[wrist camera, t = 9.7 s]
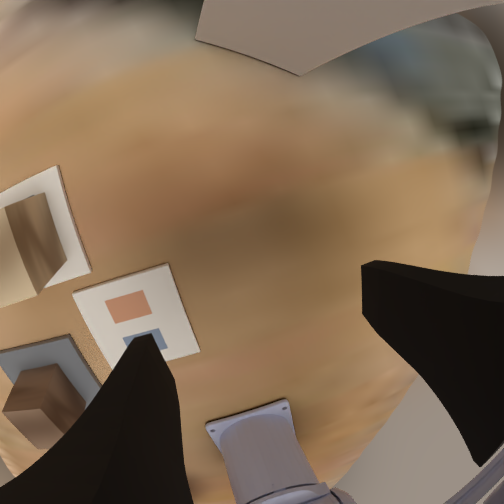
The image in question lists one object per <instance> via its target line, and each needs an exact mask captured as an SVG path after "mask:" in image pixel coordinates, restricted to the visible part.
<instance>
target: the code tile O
mask: <svg viewBox="0 0 504 504" xmlns="http://www.w3.org/2000/svg"><path fill="white" fill-rule="evenodd" d="M44 192H45V195H46V198H47V202H48V205H49V208H50V212H51V215H52V218H53V221H54V224H55V227H56V230H57V233H58V236H59V239H60V242H61V244H62V247H63V250H64V252H65V255H66V258H67V261H66V262H65V263H64V265H63V266H62V267H61V268H60V269H59V270H58V271H57V273H56V274H55V275H54V276H53V277H52V278H51V280H50V281H49V282H48V283H47V284H46V286H45V287H44V288H46V287H49V286H52V285H55V284H58V283H61V282H64V281H67V280H70V279H73V278H76V277H79V276H82V275H85V274H88V273H91V272H92V268H91V266H90V263H89V261H88V258H87V256H86V253H85V250H84V248H83V245H82V242H81V239H80V236H79V233H78V231H77V228H76V225H75V222H74V218H73V215H72V212H71V209H70V206H69V202H68V199H67V195H66V192H65V188H64V185H63V181H62V177H61V173H60V169H59V165H56V166H54V167H51V168H49V169H47V170H45V171H43V172H41V173H38V174H36V175H34V176H32V177H30V178H28V179H26V180H24V181H22V182H20V183H18V184H16V185H15V186H13V187H11V188H9V189H7V190H5V191H4V192H2V193H0V209H1V208H3V207H5V206H8V205H10V204H13V203H16V202H18V201H21V200H24V199H26V198H29V197H32V196H35V195H38V194H41V193H44Z"/></svg>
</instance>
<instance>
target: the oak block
mask: <svg viewBox="0 0 504 504" xmlns="http://www.w3.org/2000/svg"><path fill="white" fill-rule="evenodd" d="M66 261H67V258H66V255H65V252H64V250H63V247H62V244H61V242H60V239H59V236H58V233H57V230H56V227H55V224H54V221H53V218H52V215H51V212H50V208H49V205H48V202H47V198H46V195H45V192H44V193H41V194H38V195H35V196H32V197H29V198H26V199H24V200H21V201H18V202H16V203H13V204H10V205H8V206H5V207H3V208H1V209H0V308H2V307H5V306H8V305H11V304H14V303H16V302H19V301H22V300H25V299H28V298H31V297H34V296H37V295H38V294H39V293H40V292H41V290H42V289H43V288H44V287H45V286H46V284H47V283H48V282H49V281H50V280H51V278H52V277H53V276H54V275H55V274H56V273H57V271H58V270H59V269H60V268H61V267H62V266H63V265H64V263H65V262H66Z"/></svg>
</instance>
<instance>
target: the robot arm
mask: <svg viewBox="0 0 504 504" xmlns="http://www.w3.org/2000/svg"><path fill="white" fill-rule="evenodd" d="M361 275H362V314H363V315H364V317H365V318H366V319H367V321H368V322H369V324H370V325H371V326H372V327H373V329H374V330H375V331H376V332H377V334H378V335H379V336H380V337H381V338H382V339H384V340H385V341H386V342H387V343H388V344H389V345H390V346H391V347H392V348H393V349H394V350H395V351H396V352H397V353H398V354H399V355H400V356H401V357H402V358H403V359H404V360H405V361H406V362H407V363H408V364H410V365H411V366H412V367H413V368H414V369H415V370H416V371H417V372H418V373H419V375H420V376H421V377H422V378H423V379H424V380H425V382H426V383H427V384H428V385H429V387H430V388H431V389H432V390H433V392H434V393H435V394H436V395H437V397H438V398H439V400H440V401H441V403H442V404H443V406H444V407H445V409H446V410H447V411H448V413H449V415H450V416H451V418H452V419H453V421H454V423H455V425H456V426H457V428H458V429H459V431H460V433H461V435H462V437H463V439H464V441H465V443H466V445H467V447H468V449H469V451H470V453H471V456H472V458H473V461H474V462H475V463H476V464H477V465H478V466H479V467H481V466H482V465H483V464H484V463H486V462H487V461H488V459H490V457H491V456H492V455H493V454H494V453H495V452H496V451H497V450H498V449H499V448H500V447H501V446H502V445H503V443H504V276H478V275H466V274H458V273H451V272H444V271H438V270H432V269H427V268H422V267H416V266H411V265H406V264H401V263H395V262H388V261H379V260H374V261H372V262H369V263H366V264H364V265H361ZM205 427H206V430H207V432H208V433H209V435H210V436H211V438H212V440H213V441H214V443H215V444H216V446H217V447H218V449H219V450H220V452H221V453H222V455H223V458H224V462H225V466H226V469H227V473H228V476H229V480H230V484H231V487H232V490H233V494H234V497H235V501H236V504H356V502H355V501H354V499H353V498H352V497H351V496H350V495H349V494H348V493H347V492H345V491H343V490H340V489H338V488H332V489H330V490H329V488H328V486H327V484H326V483H325V482H322V483H319V481H318V479H317V478H316V476H315V474H314V472H313V470H312V468H311V466H310V464H309V462H308V460H307V458H306V456H305V454H304V452H303V450H302V448H301V446H300V444H299V442H298V440H297V438H296V434H295V430H294V425H293V420H292V415H291V411H290V406H289V402H288V401H287V400H286V399H283V400H280V401H277V402H274V403H272V404H269V405H266V406H263V407H260V408H257V409H254V410H251V411H247V412H244V413H241V414H238V415H234V416H231V417H227V418H224V419H220V420H216V421H213V422H209V423H207V424H206V425H205ZM503 476H504V448H503V449H502V451H501V452H500V453H499V454H498V455H497V456H496V457H495V458H494V459H493V460H492V461H491V462H490V463H489V464H488V465H487V466H486V467H485V468H484V469H483V470H482V471H481V472H480V473H479V474H478V475H477V476H476V477H475V478H474V479H472V480H471V481H470V482H469V483H468V484H467V485H466V486H465V487H463V488H462V489H461V490H460V491H459V492H457V493H456V494H455V495H454V496H453V497H451V498H450V499H449V500H448V501H446V502H445V503H444V504H476V503H477V502H478V501H479V500H480V499H481V498H482V497H483V496H484V495H485V494H486V493H487V492H488V491H489V490H490V489H491V488H492V487H493V486H494V485H495V484H496V483H497V482H498V481H499V480H500V479H501V478H502V477H503ZM0 504H194V503H193V500H192V496H191V492H190V488H189V484H188V480H187V476H186V471H185V465H184V456H183V445H182V433H181V420H180V406H179V400H178V394H177V389H176V384H175V379H174V377H173V375H172V373H171V371H170V369H169V367H168V366H167V364H166V362H165V360H164V358H163V356H162V354H161V352H160V350H159V348H158V346H157V343H156V341H155V339H154V337H153V335H152V333H149V334H146V335H142V336H138V337H134V338H133V340H132V341H131V342H130V344H129V345H128V347H127V348H126V350H125V351H124V353H123V355H122V356H121V358H120V359H119V361H118V362H117V364H116V366H115V367H114V369H113V370H112V372H111V373H110V375H109V377H108V378H107V380H106V381H105V383H104V384H103V385H102V387H101V388H100V390H99V391H98V393H97V394H96V395H95V397H94V398H93V400H92V401H91V403H90V404H89V405H88V407H87V408H86V409H85V411H84V412H83V413H82V415H81V416H80V417H79V418H78V419H77V421H76V422H75V423H74V424H73V425H72V427H71V428H70V429H69V430H68V431H67V432H66V433H65V434H64V435H63V436H62V437H61V438H60V439H59V440H58V441H57V442H56V443H55V444H54V445H53V446H52V447H51V448H50V449H49V450H48V451H47V452H46V453H45V454H44V455H43V456H42V457H41V458H40V459H39V460H37V461H36V462H35V463H34V464H33V465H31V466H30V467H29V468H28V469H26V470H25V471H24V472H23V473H21V474H20V475H18V476H17V477H16V478H14V479H13V480H11V481H10V482H8V483H6V484H5V485H3V486H2V487H0ZM483 504H504V481H503V482H502V483H501V484H500V485H499V486H498V487H497V488H496V489H495V490H494V491H493V492H492V493H491V494H490V495H489V496H488V498H487V499H486V500H485V501H484V502H483Z"/></svg>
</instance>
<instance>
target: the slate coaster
mask: <svg viewBox="0 0 504 504" xmlns="http://www.w3.org/2000/svg"><path fill="white" fill-rule="evenodd" d="M55 363H58V365H59V366H60V368H61V369H62V371H63V372H64V374H65V375H66V376H67V378H68V379H69V380H70V382H71V383H72V384H73V386H74V387H75V388H76V390H77V391H78V392H79V394H80V395H81V396H82V397H83V399H84V400H85V401H86V406H85V409H86V408H87V407H88V405H89V404H90V403H91V401H92V400H93V398H94V397H95V395H96V394H97V393H98V391H99V390H100V388H101V387H102V385H101V384H100V382H99V381H98V379H97V378H96V376H95V375H94V373H93V372H92V370H91V369H90V367H89V365H88V364H87V362H86V361H85V359H84V358H83V356H82V354H81V353H80V351H79V349H78V348H77V346H76V344H75V342H74V341H73V339H72V337H71V335H70V334H69V335H65V336H61V337H57V338H53V339H49V340H44V341H40V342H36V343H32V344H28V345H24V346H19V347H15V348H11V349H6V350H2V351H0V366H1V367H2V369H3V370H4V372H5V373H6V375H7V376H8V377H9V379H10V380H11V382H12V383H13V384H15V382H16V380H17V378H18V376H19V374H20V372H21V371H24V370H28V369H33V368H38V367H42V366H47V365H51V364H55Z"/></svg>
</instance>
